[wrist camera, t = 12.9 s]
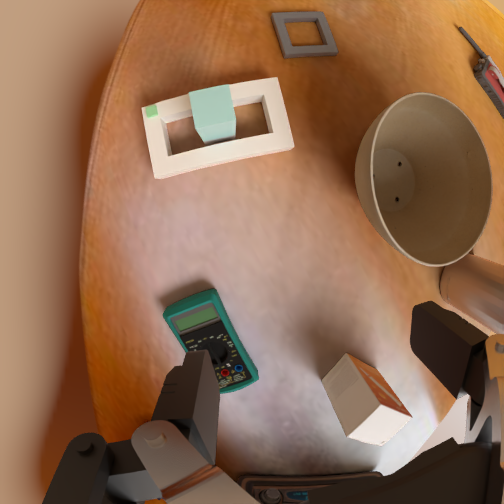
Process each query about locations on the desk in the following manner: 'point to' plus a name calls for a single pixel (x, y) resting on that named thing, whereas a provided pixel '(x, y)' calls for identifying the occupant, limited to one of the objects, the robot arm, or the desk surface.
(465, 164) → the flower pot
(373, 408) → the small box
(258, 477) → the radio
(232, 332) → the digital multimeter
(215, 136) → the plug
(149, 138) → the port panel
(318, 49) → the grey square ring
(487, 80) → the walkie-talkie
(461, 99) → the desk surface
